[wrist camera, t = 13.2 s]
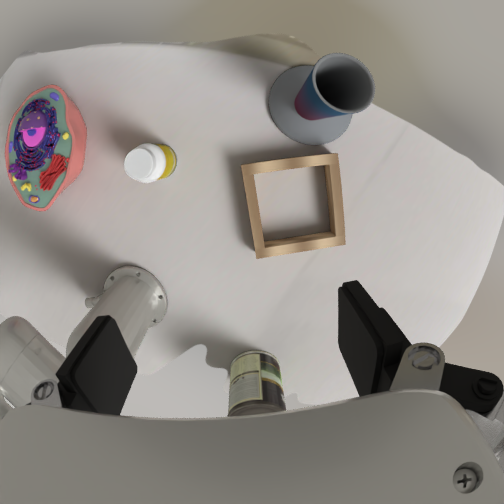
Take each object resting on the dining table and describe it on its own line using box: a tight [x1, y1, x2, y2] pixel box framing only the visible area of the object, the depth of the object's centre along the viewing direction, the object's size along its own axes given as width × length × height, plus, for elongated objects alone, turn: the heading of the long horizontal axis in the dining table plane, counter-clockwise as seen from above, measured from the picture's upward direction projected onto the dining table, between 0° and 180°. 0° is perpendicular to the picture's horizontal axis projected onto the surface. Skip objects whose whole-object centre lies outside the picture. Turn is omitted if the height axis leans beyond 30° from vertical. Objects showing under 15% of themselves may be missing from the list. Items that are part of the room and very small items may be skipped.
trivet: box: [269, 66, 352, 145], centre depth 37 cm, size 13×13×1 cm
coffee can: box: [227, 350, 286, 417], centre depth 47 cm, size 10×10×14 cm
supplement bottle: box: [124, 143, 177, 183], centre depth 35 cm, size 5×5×10 cm
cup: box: [294, 53, 375, 121], centre depth 29 cm, size 7×7×15 cm
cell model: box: [5, 85, 87, 211], centre depth 32 cm, size 17×20×11 cm
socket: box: [241, 153, 346, 259], centre depth 41 cm, size 14×14×3 cm
